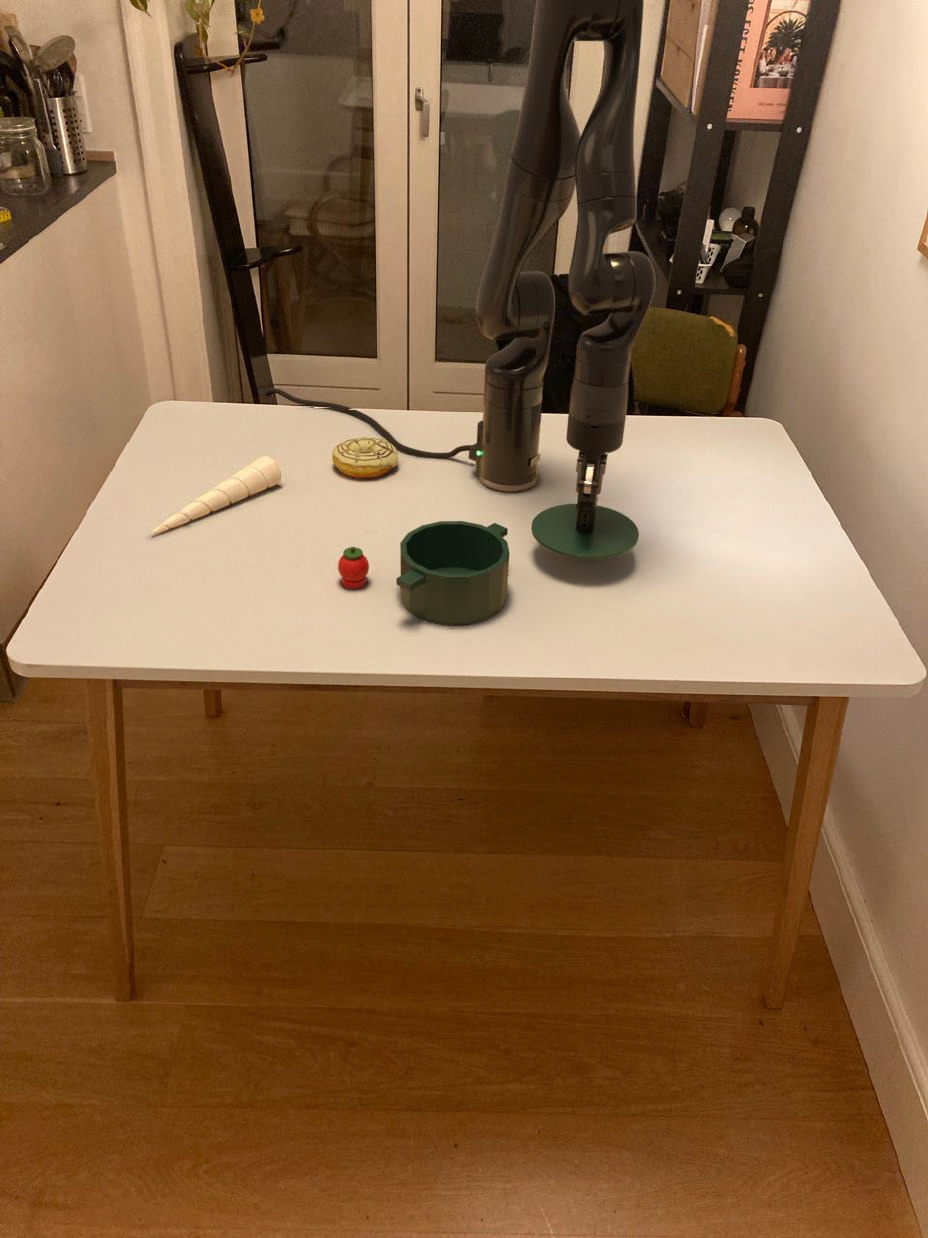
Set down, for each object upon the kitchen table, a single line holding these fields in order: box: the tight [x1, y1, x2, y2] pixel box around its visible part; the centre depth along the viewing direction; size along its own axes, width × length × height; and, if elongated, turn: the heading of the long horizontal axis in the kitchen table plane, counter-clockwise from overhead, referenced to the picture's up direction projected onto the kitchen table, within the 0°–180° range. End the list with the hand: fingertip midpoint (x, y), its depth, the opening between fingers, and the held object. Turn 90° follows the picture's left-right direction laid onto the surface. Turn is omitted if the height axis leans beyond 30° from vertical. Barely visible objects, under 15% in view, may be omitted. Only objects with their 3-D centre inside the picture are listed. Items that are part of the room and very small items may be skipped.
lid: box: [530, 496, 640, 560], centre depth 138 cm, size 15×15×6 cm
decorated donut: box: [331, 436, 399, 479], centre depth 163 cm, size 10×11×4 cm
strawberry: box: [337, 546, 370, 590], centre depth 133 cm, size 4×4×6 cm
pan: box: [396, 520, 510, 626], centre depth 131 cm, size 14×20×8 cm
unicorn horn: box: [150, 455, 282, 535], centre depth 150 cm, size 5×24×5 cm, turn 137°
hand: (585, 525), depth 139 cm, fingers closed on lid, 2 cm apart
